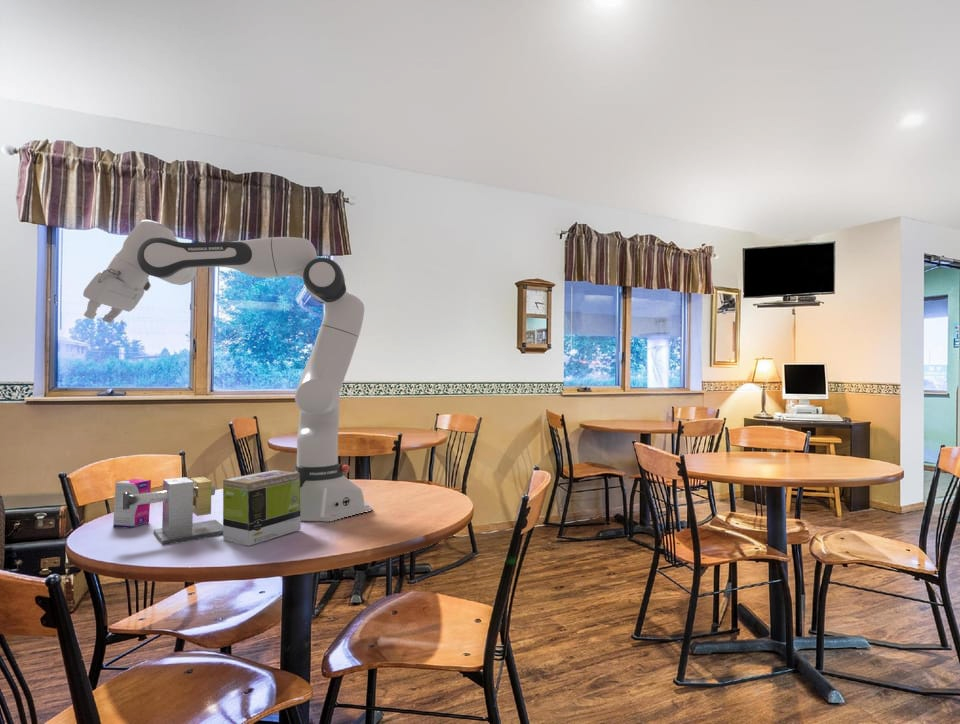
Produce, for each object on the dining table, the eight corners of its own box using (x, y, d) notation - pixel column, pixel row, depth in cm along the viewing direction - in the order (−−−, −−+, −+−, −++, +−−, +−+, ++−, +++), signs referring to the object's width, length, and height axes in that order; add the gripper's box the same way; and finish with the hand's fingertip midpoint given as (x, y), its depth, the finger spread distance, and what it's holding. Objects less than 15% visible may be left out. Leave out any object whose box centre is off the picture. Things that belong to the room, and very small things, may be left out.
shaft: (211, 496, 133) (211, 480, 133) (215, 499, 130) (216, 483, 130) (121, 508, 121) (121, 491, 121) (123, 511, 118) (123, 493, 118)
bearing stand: (215, 523, 137) (216, 472, 138) (228, 533, 128) (229, 479, 129) (153, 533, 128) (154, 479, 129) (162, 545, 119) (163, 486, 120)
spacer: (203, 507, 134) (203, 476, 134) (210, 513, 128) (211, 481, 128) (189, 509, 132) (190, 478, 132) (197, 516, 126) (198, 482, 126)
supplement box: (131, 528, 133) (133, 483, 133) (112, 527, 134) (113, 482, 134) (150, 522, 138) (151, 479, 139) (131, 521, 140) (132, 478, 140)
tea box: (275, 525, 136) (276, 468, 136) (301, 531, 131) (302, 472, 131) (221, 540, 123) (222, 477, 123) (247, 547, 118) (249, 481, 118)
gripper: (120, 272, 128) (88, 321, 127) (153, 287, 148) (126, 329, 147) (95, 259, 127) (63, 308, 126) (132, 276, 147) (104, 318, 146)
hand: (97, 319), depth 136 cm, fingers open, 8 cm apart
